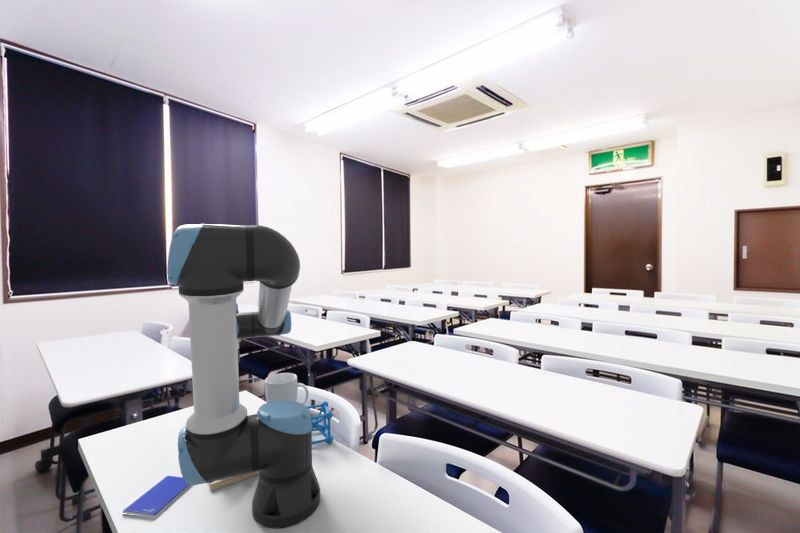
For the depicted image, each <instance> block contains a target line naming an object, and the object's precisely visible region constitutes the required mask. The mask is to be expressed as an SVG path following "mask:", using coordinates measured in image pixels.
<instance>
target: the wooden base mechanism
mask: <svg viewBox="0 0 800 533" xmlns="http://www.w3.org/2000/svg"><path fill="white" fill-rule="evenodd" d="M257 475H260V470H258V471H254V472H250V473H246V474H242V475H238V476H234V477H230V478H226V479H221V480H217V481H214V482H212V483H208V485H209V490H210V491H213V490H217V489H220V488H222V487H225V486H228V485H231V484H233V483H236V482H239V481H242V480H244V479H247V478H250V477H253V476H257Z"/></svg>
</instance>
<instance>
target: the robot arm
mask: <svg viewBox="0 0 800 533" xmlns="http://www.w3.org/2000/svg"><path fill="white" fill-rule="evenodd" d="M300 261H301V260H300V257H299V255H298V252H297V250H296V248H295V247H294V245H293V244H292V243H291V241H289V240H288V239H287V237H286V236H285V235H283V234H281V233H280V232H278V231H277V230H275V229H273V228H271V227H268V226H264V225H258V224H252V225H249V224H248V225H243V224H210V223H208V224H207V223H206V224H205V223H204V222H203V223H199V224H197V223H196V224H193V223H192V224H183V225H180V226H178V227H177V228H176V229H175V230H174V231H173V234H172V236H171V241H170V245H169V251H168V258H167V281H168V284H170V285H173V286H178V295H179V296H180V297H181V298H182V299H184V300H186V302H187V303H188V316H189V317H188V318H189V338H190V340H189V341H190V356H191V358H190V359H191V378H192V401H193V413H191V415H189V417H188V418H187V420H186V422H185V426H184V427H182V428H181V429H180V430H179V432H178V438H177V451H178V455H177V456H178V457H177V458H178V464H179V469H180V474H181V477H183V479H184V481H185V482H186V483H187V484H190V485H191V486H197V485H203V484H209V483H212V482H214V481H217V480H221V479H226V478H230V477H234V476H238V475H242V474H246V473H250V472H254V471H258V470H260V473H259V479H258V481H257V484H256V488H255V490H254V494H253V498H252V503H251V508H252V518H253V519H254V521H255V522H256V523H258V524H259V525H260V526H263V527H264V528H270V529H282V528H283V529H284V528H289V527H292V526H296V525H297V524H300V523H301V522H304V521H305V520H306V519H308V518H309V517H311V516H312V515H313V514H314V513H315V511H316V510H317V508H319V505H320V503H321V502H320V501H321V487H320V484H319V480H318V478H317V475H316V473H315V470H314V467H313V449H312V448H313V446H312V445H313V444H312V442H313V440H312V432H313V431H312V424H311V417H312V416H311V411H310V409H308V408H307V406H306V405H305V404H301V402H299V401H296V402H295V401H289V400H278V401H271V402H268V403H263V404H262V405H261V406H259V408H258V410H257V411H256V413H254V414H250V415H248V409H247V408H246V406H245V405H244V404H242V403H240V383H239V382H240V379H239V377H240V376H239V363H240V362H241V360H240V359H241V358H240V354H241V353H240V350H239V349H240V343H241V342H242V340H244V339H253V338H261V337H265V338H266V337H273V336H274V337H275V336H276V337H277V336H282V335H288V334H290V333H291V330H292V316H291V311H290V310H289V309H288V305H289V300H290V296H291V292H292V287H293V285H294V284H295V283H296V282H297V280H298V278H299V275H300V271H301V262H300ZM244 282H245V283H246V282H259V288H258V289H259V290H258V304H257V305H258V307H257V308H258V309H257V310H258V311H251V312H239V311H240V310H239V305H238V303H237V298H238V297H239V296H240V295H241V294H242V293H243V292H244V290H245V289H244ZM311 431H312V432H311Z"/></svg>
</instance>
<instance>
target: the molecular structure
mask: <svg viewBox="0 0 800 533" xmlns="http://www.w3.org/2000/svg"><path fill="white" fill-rule="evenodd" d="M306 407H307V408H308V409H309V410H310V409H316V408H320V411H319V413H318V415H315V416H311V424H312V431H311V433H312V432H317V431H319V432H320V434H322V435H323V437H325V438H324V439H319V440H314V441H313V440H312V445H317V444H320V443H326V444H328V445H329V444H332V443H333V442H334V437H333V436H332V435H331V419H332V418H333V412H332V410H329V402H328V401H327V400H323V401H322V402H321V404H314V405H310V406H309V405H308V406H306ZM322 413H323V414H322ZM320 422H323V424H320Z"/></svg>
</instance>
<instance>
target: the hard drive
mask: <svg viewBox="0 0 800 533" xmlns="http://www.w3.org/2000/svg"><path fill="white" fill-rule="evenodd" d="M190 487H192V485H190V484H187V483H186V482H185V481H184V479H183V476H173V475H166V476H165V477H164V478H162V479H161V480H160V481H159V482H158V483H156V484H155V485H153V486H152V487H151V488H150V489H149V490H147V491H146V492H144V493H143V494H142V495H141V496H139V497H138V498H137V499H135V501H133V502H131V504H129V505H127V507H125V508H124V509H123V510H122V514H123V513H127V514H133V515H134V514H135V515H139V516H143V517H142V518H146V517H149V518H148V519H156V518H157V517H158V516H159V515H160V514H161V513H163V511H165V510H166V509H167V508H168V507H169V506H170V505H171V504H172V503H174V502H175V501H176V500H177V499H178V498H179V497H180V496H182V494H184V493H185V492H186V491H187V490H189V488H190ZM139 516H138V517H139ZM156 516H157V517H156Z"/></svg>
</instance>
